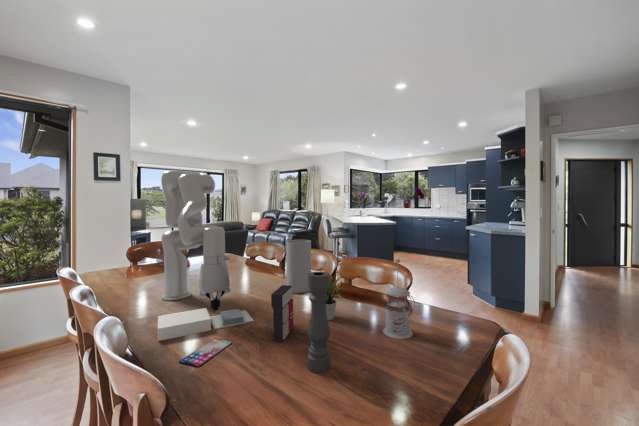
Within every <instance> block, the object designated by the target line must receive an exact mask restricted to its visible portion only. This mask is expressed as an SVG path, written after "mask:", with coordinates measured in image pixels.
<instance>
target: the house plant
mask: <svg viewBox="0 0 639 426" xmlns="http://www.w3.org/2000/svg"><path fill="white" fill-rule="evenodd" d="M343 278H344V276H340V277H338V278H337V279H336V280H332V279H331V276H330V275H329V287H328V290H327V293H326V295H327V296H328V300H327V301H326V315H327V319H328V321H331V320H334V318H335V315H336V309H337V307H336V306H337V300H336V299H340V297H342V295H341V293H338V292H339V291H340V290H341V289H342V287H340V288H338V287H339V286H340V285H341V284H343V283H345V284H346V283H347V281H340V282H338V281H339V280H341V279H343ZM337 283H338V284H337ZM337 288H338V289H337ZM339 296H340V297H339Z"/></svg>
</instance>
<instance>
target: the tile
mask: <svg viewBox="0 0 639 426" xmlns="http://www.w3.org/2000/svg"><path fill="white" fill-rule="evenodd" d="M240 311H241V310H240V309H239V308H236V309H235V308H234V309H230V310H229V309H228V310H224V311H223V310H222V311H220V312H219V315H220V318H221V320H222V323H223V326H226V325H231V324H236V323H242V322H243V315H242V313H241V312H240Z"/></svg>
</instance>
